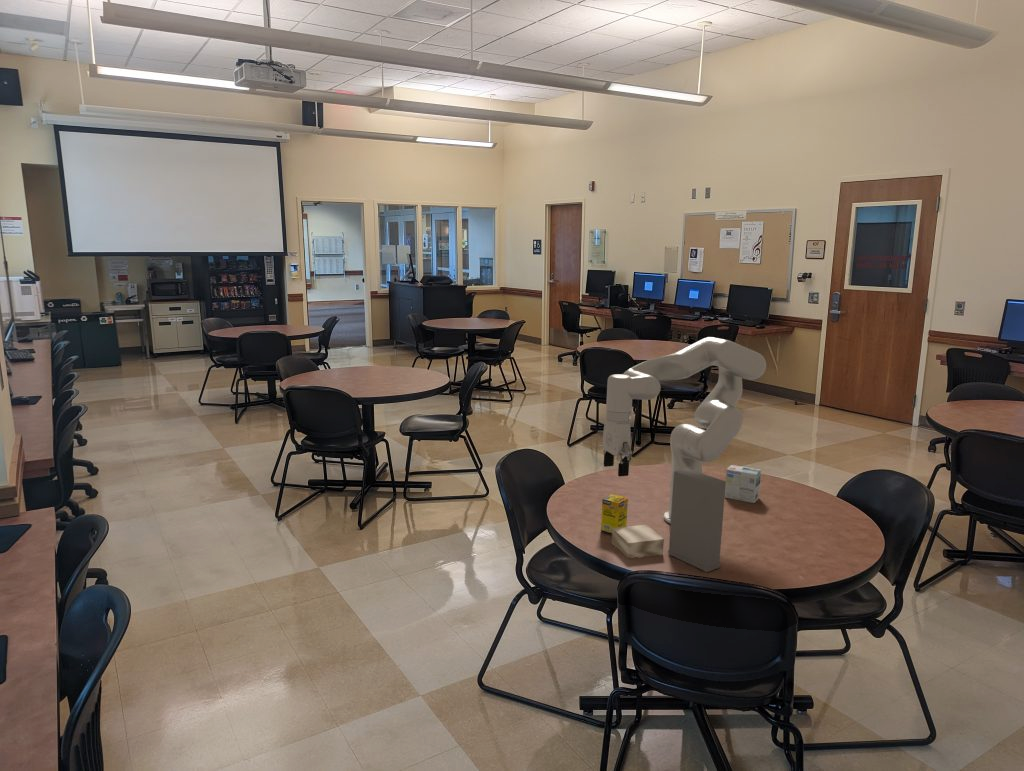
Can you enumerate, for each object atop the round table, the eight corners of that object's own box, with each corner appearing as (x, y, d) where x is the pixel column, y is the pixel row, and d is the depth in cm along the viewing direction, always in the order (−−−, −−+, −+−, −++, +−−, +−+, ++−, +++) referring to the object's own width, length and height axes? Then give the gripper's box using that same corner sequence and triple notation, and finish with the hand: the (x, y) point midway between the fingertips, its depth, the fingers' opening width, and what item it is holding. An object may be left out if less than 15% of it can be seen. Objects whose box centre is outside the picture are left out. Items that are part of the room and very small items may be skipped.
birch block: (645, 540, 208) (646, 524, 207) (662, 555, 198) (663, 539, 197) (611, 544, 205) (612, 528, 204) (627, 559, 195) (628, 543, 194)
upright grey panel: (721, 567, 190) (728, 480, 185) (706, 573, 187) (713, 485, 182) (682, 549, 201) (687, 467, 196) (668, 554, 198) (673, 471, 193)
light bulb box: (759, 498, 244) (762, 469, 242) (754, 504, 238) (757, 474, 236) (728, 492, 250) (731, 463, 248) (723, 497, 244) (725, 468, 242)
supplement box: (617, 537, 209) (619, 503, 207) (600, 532, 213) (601, 498, 211) (626, 531, 214) (628, 497, 212) (609, 526, 217) (611, 493, 215)
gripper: (594, 410, 213) (592, 463, 216) (620, 423, 197) (617, 481, 200) (616, 409, 215) (614, 461, 219) (643, 422, 199) (640, 478, 203)
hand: (615, 470), depth 209 cm, fingers open, 9 cm apart
